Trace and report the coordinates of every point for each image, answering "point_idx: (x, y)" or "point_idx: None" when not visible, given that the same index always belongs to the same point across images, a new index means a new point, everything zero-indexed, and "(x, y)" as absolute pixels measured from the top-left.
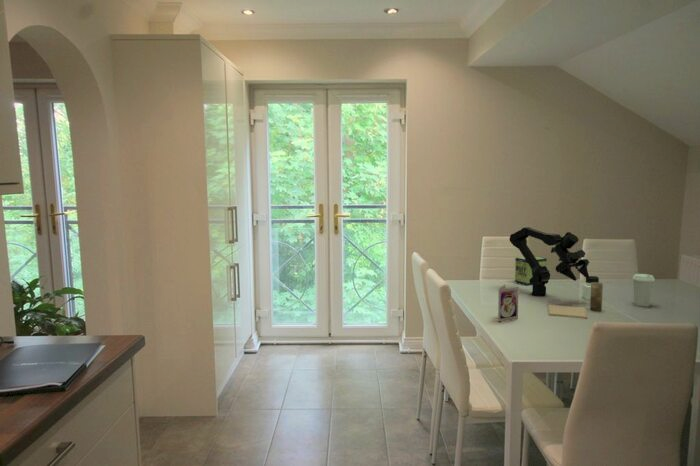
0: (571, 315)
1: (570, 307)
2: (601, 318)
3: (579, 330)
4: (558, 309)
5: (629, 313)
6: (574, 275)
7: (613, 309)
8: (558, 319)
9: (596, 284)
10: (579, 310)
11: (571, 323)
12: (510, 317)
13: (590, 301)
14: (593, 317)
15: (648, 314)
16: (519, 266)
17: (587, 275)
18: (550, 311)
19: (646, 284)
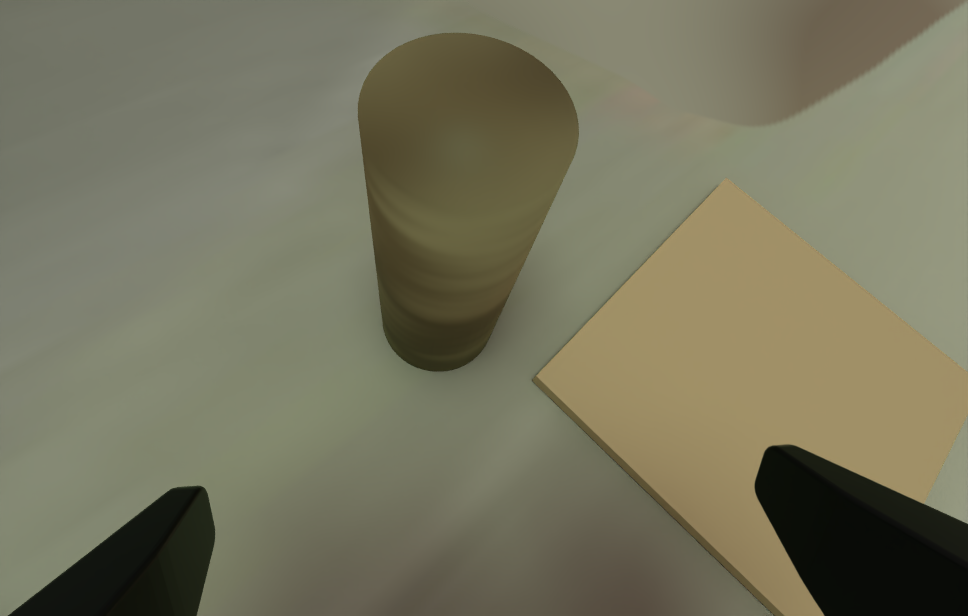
0: (822, 255)
1: (668, 451)
2: (613, 140)
3: (915, 71)
4: (832, 448)
5: (275, 113)
6: (902, 523)
7: (265, 248)
8: (938, 268)
9: (553, 74)
10: (657, 327)
11: (893, 168)
12: None
13: (496, 319)
14: (650, 181)
15: (166, 33)
16: None
17: (167, 553)
18: (941, 427)
19: None
